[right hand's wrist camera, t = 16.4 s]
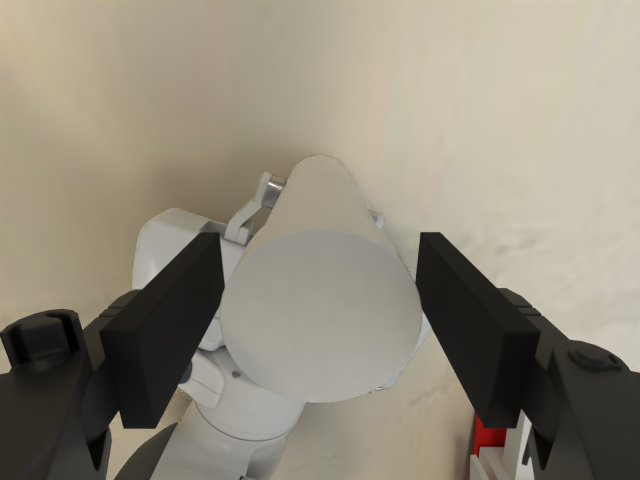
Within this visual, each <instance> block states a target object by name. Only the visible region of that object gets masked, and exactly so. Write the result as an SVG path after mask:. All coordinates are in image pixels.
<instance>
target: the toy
mask: <svg viewBox="0 0 640 480" xmlns="http://www.w3.org/2000/svg"><path fill="white" fill-rule="evenodd" d="M531 425H532V423H531V422H530V421H529V419H528V418H527V416H526V415H525V413H524V412H523V410H522V409H521V412H520V416H519V420H518V424H517V427H516V429H484V427H483V425H482V423H481V421H480V419H479V417H478V415H477V413H476V425H475V437H474V450H473V455H470V480H534V473H533V467H532V461H531V457H530V458H529V461H528V464H527V466H525V465H522V458H523V453H524V450H525V446H526V443H527V439H528V435H529V432H530V428H531Z"/></svg>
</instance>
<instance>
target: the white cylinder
mask: <svg viewBox="0 0 640 480" xmlns="http://www.w3.org/2000/svg"><path fill="white" fill-rule="evenodd" d="M219 318H220V328H221V332H222V336H223V340H224V343H225V345H226V347H227V350H228V352H229V353H230V355H231V357H232V358H233V360H234V361H235V363H236V364H237V365H238V367H239V368H240V369H241V370H242V371H243V372H244V373H245V374H246V375H247V376H248V377H249V378H250V379H252V380H253V381H254V382H256V383H257V384H258V385H260V386H262V387H263V388H265V389H267V390H268V391H271V392H273V393H275V394H277V395H280V396H283V397H286V398H289V399H292V400H297V401H302V402H311V403H331V402H339V401H344V400H349V399H353V398H356V397H359V396H362V395H364V394H366V393H369V392H371V391H373V390H375V389H376V388H378V387H380V386H382V385H383V384H384V383H386V382H387V381H388V380H390V379H391V378H392V377H393V376H394V375H395V374H397V373H398V372H399V371H400V369H401V368H402V367H403V366H404V365H405V363H406V362H407V361H408V359H409V358H410V356H411V354H412V353H413V351H414V348H415V346H416V344H417V342H418V338H419V335H420V331H421V324H422V306H421V300H420V295H419V293H418V290H417V287H416V284H415V282H414V280H413V278H412V277H411V275H410V273H409V271H408V269H407V268H406V266H405V264H404V262H403V260H402V259H401V257H400V255H399V253H398V252H397V250H396V248H395V246H394V245H393V243H392V242H391V240H390V239H389V238H388V236H387V235H386V234H385V233H384V232H383V231H382V230H381V229H380V228H379V227H378V226H377V225H375V224H374V223H373V222H372V221H370V220H369V219H367V218H365V217H363V216H362V215H360V214H357V213H355V212H352V211H350V210H346V209H342V208H339V207H331V206H310V207H303V208H299V209H295V210H292V211H289V212H287V213H284V214H282V215H280V216H278V217H276V218H274V219H273V220H271V221H270V222H269V223H267V224H266V225H264V226H263V227H262V228H261V229H260V230H259V231H258V232H257V233H256V234H255V235H254V237H253V238H252V239H251V241H250V242H249V244H248V245H247V247H246V249H245V251H244V253H243V254H242V256H241V258H240V260H239V262H238V263H237V265H236V267H235V269H234V271H233V272H232V274H231V276H230V278H229V280H228V281H227V283H226V286H225V289H224V291H223V294H222V299H221V303H220V316H219Z"/></svg>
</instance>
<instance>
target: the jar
mask: <svg viewBox="0 0 640 480" xmlns="http://www.w3.org/2000/svg"><path fill="white" fill-rule="evenodd" d="M310 206H331V207H339V208H342V209H346V210H350V211H352V212H355V213H357V214H360V215H362V216H363V217H365V218H367V219H369V220H370V221H372V222H373V223H374V224H375V222H374V220H373V218H372V216H371V214H370V212H369V210H368V208H367V206H366V204H365V202H364V200H363V198H362V196H361V194H360V193H359V191H358V189H357V187H356V185H355V183H354V181H353V179H352V177H351V175H350V173H349V171H348V169H347V168H346V167H345V166H344V164H342V163H341V162H340V161H339V160H337V159H335V158H333V157H330V156H327V155H314V156H310V157H307V158H305V159H303V160H302V161H300V162H299V163H298V164H297V165H296V166H295V167H294V169H293V170H292V172H291V173H290V175H289V177H288V179H287V182H286V184H285V186H284V188H283V190H282V192H281V194H280V196H279V198H278V200H277V202H276V204H275V206H274V208H273V210H272V212H271V214H270V216H269V218H268V220H267V222H266V224H267V223H269V222H270V221H271V220H273V219H274V218H276V217H278V216H280V215H282V214H284V213H287V212H289V211H292V210H295V209H299V208H303V207H310ZM266 224H265V225H266ZM375 225H376V224H375Z"/></svg>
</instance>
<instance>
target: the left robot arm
mask: <svg viewBox="0 0 640 480" xmlns="http://www.w3.org/2000/svg"><path fill="white" fill-rule="evenodd" d="M286 180H287V179H284V178H281V177H279V176H276V175H274V174H271V173H268V172H264V173H263V175H262V177H261V180H260V182H259V186H258V189H257V192H256V195H255V197H254V198H253V199H252V200H250V201H249V202H248V203H247V204H246V205H245V206H243V207H242V208H241V209H240V210H239V211H238V212H237V213H236V214H235V215H234V216H233V217H232V218H231V219H230V221H229V222H228V225H227V224H224V223H221V222H218V221H215V220H212V219H209V218H206V217H203V216H200V215H197V214H194V213H191V212H189V211H186V210H183V209H180V208H175V207H174V208H169V209H167V210H165V211H163V212H161V213H159V214H157V215H156V216H154V217H153V218H151V219H150V220H149V221H147V222H146V223H145V224H144V225H143V226H142V228H141V229H140V231H139V234H138V238H137V242H136V247H135V253H134V260H133V269H132V284H131V291H132V290H134V289H143V288H144V287H145V286H146V285H147V284H148V283H149V282H150V281H151V280H152V279H153V278H154V277H155V276H156V275H157V274H158V273H159V272H160V271H161V270H162V269H163V268H164V267H165V266H166V265H167V264H168V263H169V262H170V261H171V260H172V259H173V258H174V257H175V256H176V255H177V254H178V253H179V252H180V251H181V250H182V249H183V248H185V247H186V246H187V245H188V244H189V243H190V242H191V241H192V240H193V239H194V238H195V237H196V236H197V235H198V234H199V233H200V232H219V234H220V243H221V253H222V262H223V272H224V281H225V286H226V283H227V281H228V280H229V278H230V276H231V274H232V272H233V271H234V269H235V267H236V265H237V263H238V262H239V260H240V258H241V256H242V254H243V253H244V251H245V249H246V247H247V245H248V244H249V242H250V241H251V239H252V238H253V237H254V235H255V234H253V233H251V232H252V229H253V225H254V222H255V221H254V219H251V218H250V217H251V216H252V215H254V214H255V213H256V212H257V211H258V210H259V209H260V208H262V207H263V206H266V207H269V208H272V209H273V208H274V206H275V204H276V202H277V200H278V198H279V196H280V194H281V192H282V190H283V188H284V186H285V183H286ZM368 210H369V212H370V214H371V216H372V218H373V220H374V222H375V224H376V225H377V226H378V227H379V228H380V229H382V227H383V225H384V220H385V218H384V216H383V215H382V214H381V213H378V212H375V211H373V210H370V209H368ZM219 316H220V306H219V308H218V310H217V312H216V314H215V316H214V318H213V320H212V322H211V323H210V325H209V327H208V329H207V331H206V333H205V335H204V337H203V339H202V341H201V343H200V344H199V346H198V348H197V350H196V352H195V354H194V356H193V358H192V360H191V362H190V364H189V365H188V367H187V369H186V371H185V373H184V375H183V377H182V379H181V381H180V383H179V385H178V387H179V388H180V389H181V390H183V391H184V392H185V393H187V394H188V395H189V396H190V397H192V398H193V400H192V402H191V404H190V405H189V406H188V408H187V410H186V412H185V414H184V416H183V418H182V421H181V423H178V422H176V423H174V424H172V425H170V426H168V427H166V428H165V429H163V430H162V431H160V432H159V433H157V434H156V435H155V436H153V437H152V438H150V439H149V440H148V441H146V442H145V443H143V444H142V445H141V446H140V447H139V448H138V449H137V450H136V451H135V452H134V454H133V455H132V456H131V457H130V458H129V459H128V461H127V462H126V463H125V465H124V466H123V467H122V469H121V470H120V471H119V473H118V474H117V476H116V477H115V479H114V480H270V479H271V477H272V475H273V473H274V472H275V470H276V467H277V465H278V463H279V461H280V459H281V457H282V454H283V452H284V449H285V444H286V436H287V434H288V433H289V432H290V431H291V430H292V429H293V428H294V426H295V425H296V423H297V421H298V419H299V417H300V415H301V413H302V411H303V409H304V407H305V404H306V402H302V401H297V400H292V399H289V398H286V397H283V396H280V395H277V394H275V393H273V392H271V391H268V390H267V389H265V388H263V387H262V386H260V385H258V384H257V383H256V382H254V381H253V380H252V379H250V378H249V377H248V376H247V375H246V374H245V373H244V372H243V371H242V370H241V369H240V368H239V367H238V365H237V364H236V363H235V361H234V360H233V358H232V357H231V355H230V353H229V352H228V350H227V347H226V345H225V343H224V340H223V336H222V332H221V328H220V318H219ZM431 328H432V327H431V325H430V323H429V322H428V320H427V318H426V316H425V314H424V312H423V310H422V324H421V331H420V335H419V338H418V342H417V344H416V346H415V348H414V351H413V353H412V354H411V356H410V358H409V359H408V361H407V362H406V363H405V365H406V364H407V363H408V362H409V360H410V359H411V358H412V356H413V355H414V354H415V352H416V351H417V350H418V348H419V347H420V345H421V344H422V343H423V341H424V340H425V338H426V337H427V335H428V333H429V332H430V330H431ZM405 365H404V366H405ZM404 366H403V367H402V368H401V369H400V371H399V372H398V373H397V374H395V375H394V376H393V377H392V378H391V379H390V380H388V381H387V382H386V383H384V384H383V385H382V386H380V387H378V388H376V389H375V391H377V390H383V389H389V388H391V387H392V386H393V385H394V384H395V382H396V380H397V379H398V377H399V375H400V373H401V371H402V369H403V368H404ZM371 392H372V391H371ZM371 392H369V393H371Z"/></svg>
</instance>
